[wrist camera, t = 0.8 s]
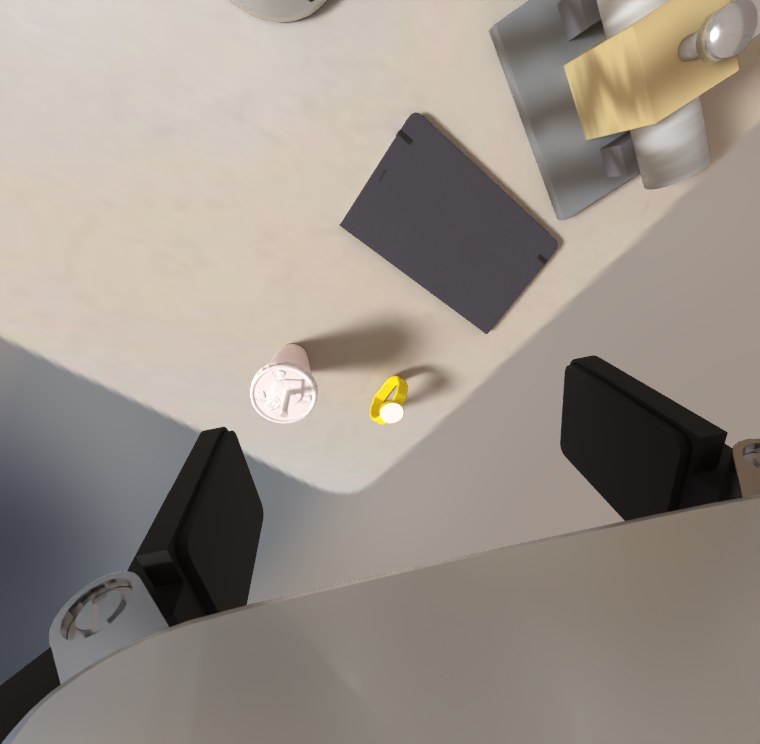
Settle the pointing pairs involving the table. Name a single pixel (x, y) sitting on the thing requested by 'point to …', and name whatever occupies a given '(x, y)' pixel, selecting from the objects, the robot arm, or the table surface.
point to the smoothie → (285, 386)
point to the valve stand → (609, 92)
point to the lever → (728, 30)
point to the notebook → (448, 225)
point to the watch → (389, 402)
